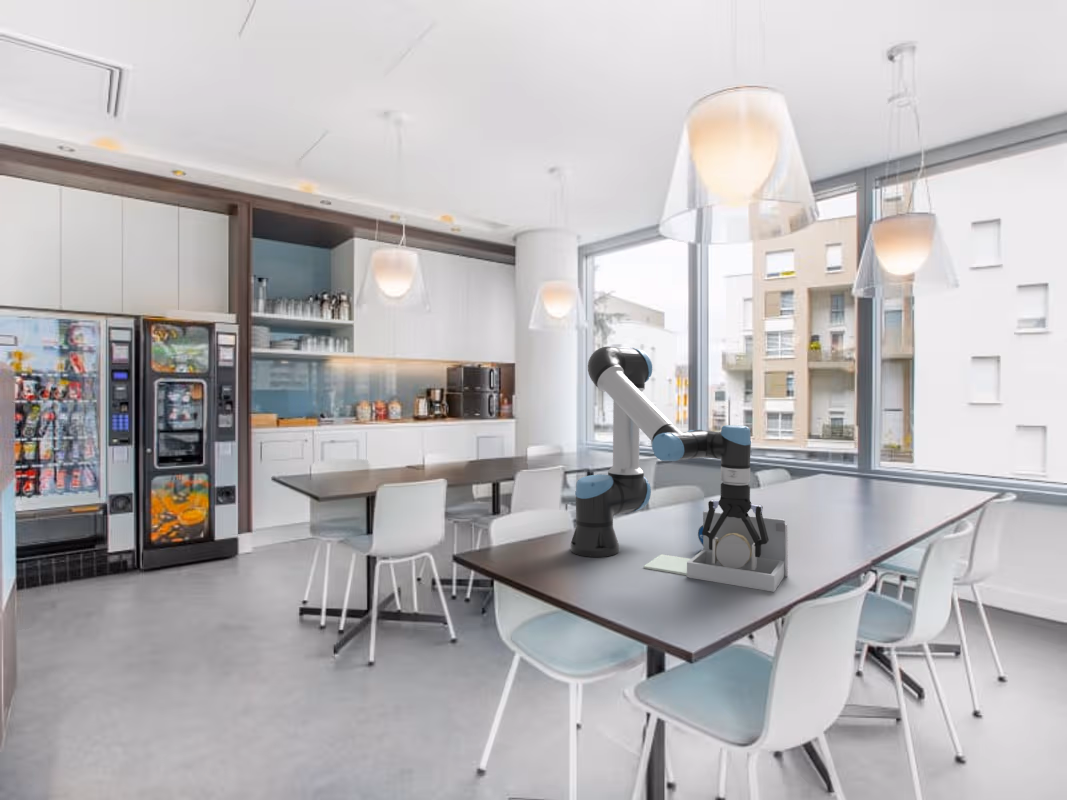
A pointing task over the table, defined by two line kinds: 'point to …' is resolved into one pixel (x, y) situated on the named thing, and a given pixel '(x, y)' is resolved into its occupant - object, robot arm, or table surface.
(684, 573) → the mat
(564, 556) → the table surface
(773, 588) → the case
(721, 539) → the coral
